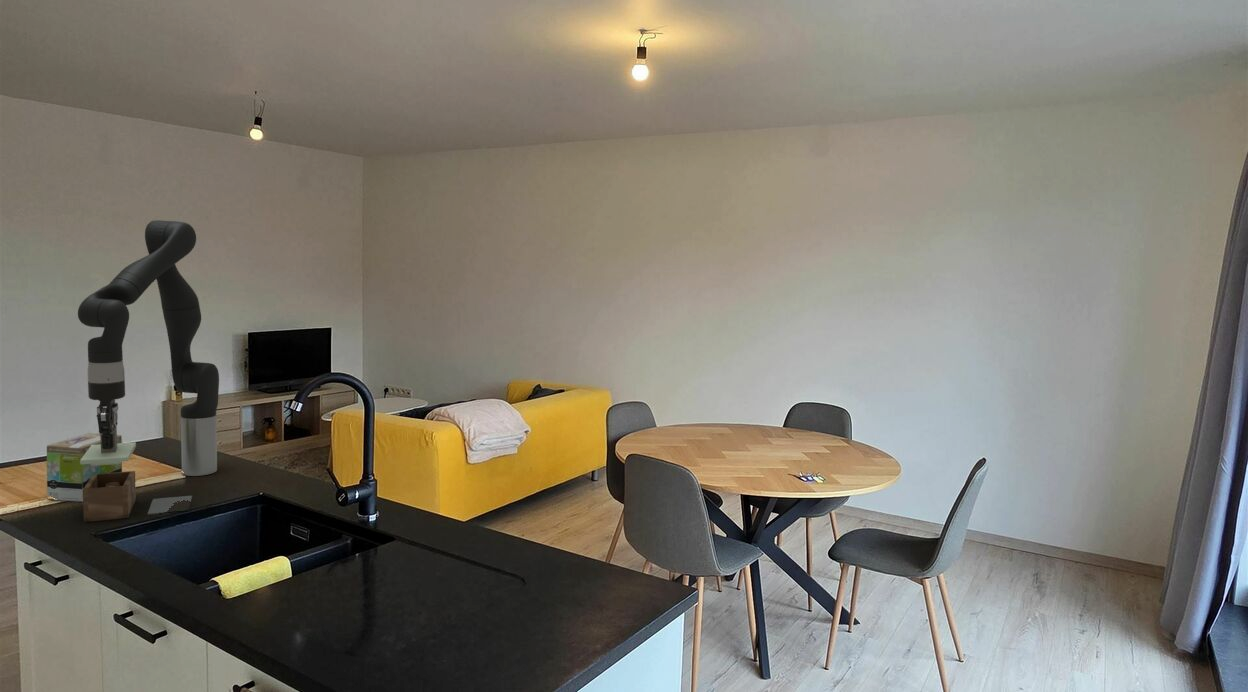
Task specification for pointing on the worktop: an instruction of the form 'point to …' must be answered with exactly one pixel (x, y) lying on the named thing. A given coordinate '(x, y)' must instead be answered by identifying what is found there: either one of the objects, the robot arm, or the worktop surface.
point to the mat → (165, 504)
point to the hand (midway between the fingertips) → (109, 446)
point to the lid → (108, 452)
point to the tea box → (73, 467)
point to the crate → (109, 496)
